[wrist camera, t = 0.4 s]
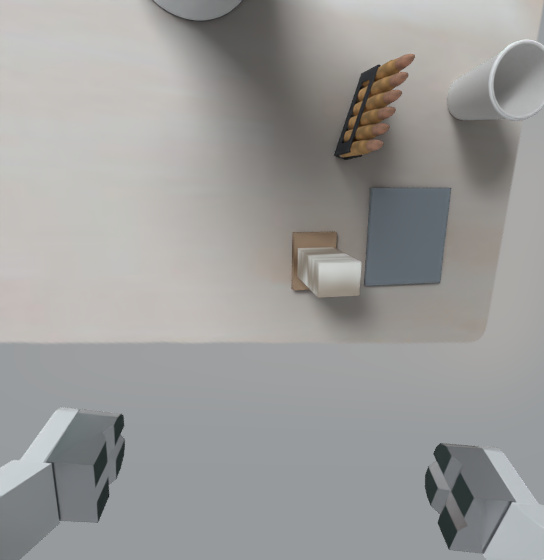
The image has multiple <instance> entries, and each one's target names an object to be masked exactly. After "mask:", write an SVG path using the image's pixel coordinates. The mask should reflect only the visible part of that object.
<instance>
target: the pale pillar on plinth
mask: <svg viewBox="0 0 544 560" xmlns="http://www.w3.org/2000/svg"><path fill="white" fill-rule="evenodd" d="M336 241H337V233H336V232H293V237H292V289H293V290H311V291H312V292H313V293H314V294H315V295H316V296H317V297H318V298H321V297H340V296H359V292H360V277H361V262H360V261H358V260H356V259H355V258H353V257H351V256H349V255H347V254H345V253H343V252H341V251H339V250H337V249H336Z"/></svg>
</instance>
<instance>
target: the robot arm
mask: <svg viewBox="0 0 544 560" xmlns="http://www.w3.org/2000/svg"><path fill="white" fill-rule="evenodd" d="M154 1H155V2H156V3H157V4H158V5H159V6H161V7H162V8H164V9H165V10H167V11H168V12H170V13H172V14H174V15H176V16H179V17H182V18H185V19H190V20H210V19H215V18H218V17H220V16H223V15H225V14H227V13H228V12H230V11H231V10H233V9H234V8H235V7H236V6H237V5H238V4H239V3H240V2H241V1H242V0H154ZM123 427H124V416H123V415H122V414H119V413H110V412H101V411H93V410H85V409H72V408H64V407H61V408H59V409H58V410H56V411H55V412H54V413H53V415H52V416H51V418H50V419H49V420H48V422H47V423H46V425H45V426H44V427H43V429H42V430H41V432H40V433H39V434H38V436H37V437H36V439H35V440H34V441H33V443H32V444H31V446H30V447H29V448H28V450H27V451H26V452H25V454H24V455H23V457H22V458H21V459H20V460H12V461H11V462H9V463H7V464H5V465H4V466H2V467H0V560H20V559H21V558H22V557H23V556H24V555H25V554H26V553H28V551H30V550H31V549H32V548H33V547H34V546H35V545H36V544H37V543H38V542H39V541H41V540H42V539H43V538H44V537H45V536H46V535H47V534H48V533H49V532H50V531H52V530H53V529H54V528H55V527H56V526H57V525H58V524H59V523H60V522H59V521H73V522H95V523H98V521H99V519H100V517H101V514H102V512H103V510H104V507H105V505H106V502H107V500H108V498H109V484H111V483H112V482H113V481H114V480H116V479H117V476H118V474H119V471H120V469H121V465H122V461H123V457H124V450H125V439H124V438H123V437H122V436H121V432H122V429H123ZM434 456H435V458H436V461H435V462H434V463H433V464H431V465H430V466H428V469H427V472H426V475H425V489H426V494H427V497H428V500H429V502H430V505H431V506H432V507H433V508H434V509H435V510H436V511H437V512H438V513H439V514H440V517H439V520H438V525H439V527H440V530H441V532H442V534H443V537H444V539H445V542H446V544H447V546H448V549H449V550H454V551H464V552H474V553H483V554H484V555H483V556H484V557H485V558H486V559H487V560H544V505H539V504H538V503H537V501H536V500H535V498H534V497H533V495H532V494H531V492H530V491H529V489H528V488H527V487H526V485H525V484H524V482H523V481H522V479H521V478H520V476H519V475H518V474H517V472H516V471H515V469H514V468H513V466H512V465H511V463H510V462H509V460H508V459H507V458H506V456H505V455H504V453H503V452H502V451H501V450H499V449H498V448H493V447H481V446H477V447H476V446H468V445H456V444H443V443H440V444H439V445H438V446H437V447H436V449H435V451H434Z"/></svg>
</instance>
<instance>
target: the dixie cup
mask: <svg viewBox="0 0 544 560" xmlns="http://www.w3.org/2000/svg"><path fill="white" fill-rule="evenodd" d="M447 106H448V109H449V111H450V113H451V114H452V115H453V116H454V117H455V118H457V119H459V120H489V119H508V120H513V121H520V120H525V119H528V118H530V117H532V116H533V115H535V114H536V113H537V112H539V111H540V110H541V109H542V107H543V106H544V46H543V45H542V44H540V43H539V42H537V41H534V40H528V39H525V40H519V41H516V42H514V43H512V44H510V45H509V46H507V47H506V48H505V49H504V50H503V51H502V52H501V53H499V54H497V55H496V56H494V57H492V58H491V59H489V60H487V61H486V62H484V63H482V64H481V65H479V66H477V67H476V68H474V69H473V70H471V71H469V72H468V73H466V74H464V75H463V76H461V77H459V78H458V79H456V80H455V81H454V82H453V83H452V85H451V86H450V88H449V91H448V95H447Z"/></svg>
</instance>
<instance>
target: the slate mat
mask: <svg viewBox="0 0 544 560" xmlns="http://www.w3.org/2000/svg"><path fill="white" fill-rule="evenodd" d="M450 193H451V188H370V203H369V218H368V233H367V248H366V262H365V277H364V285H365V286H376V285H397V284H418V283H440V277H441V269H442V261H443V252H444V244H445V235H446V227H447V219H448V210H449V202H450Z"/></svg>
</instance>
